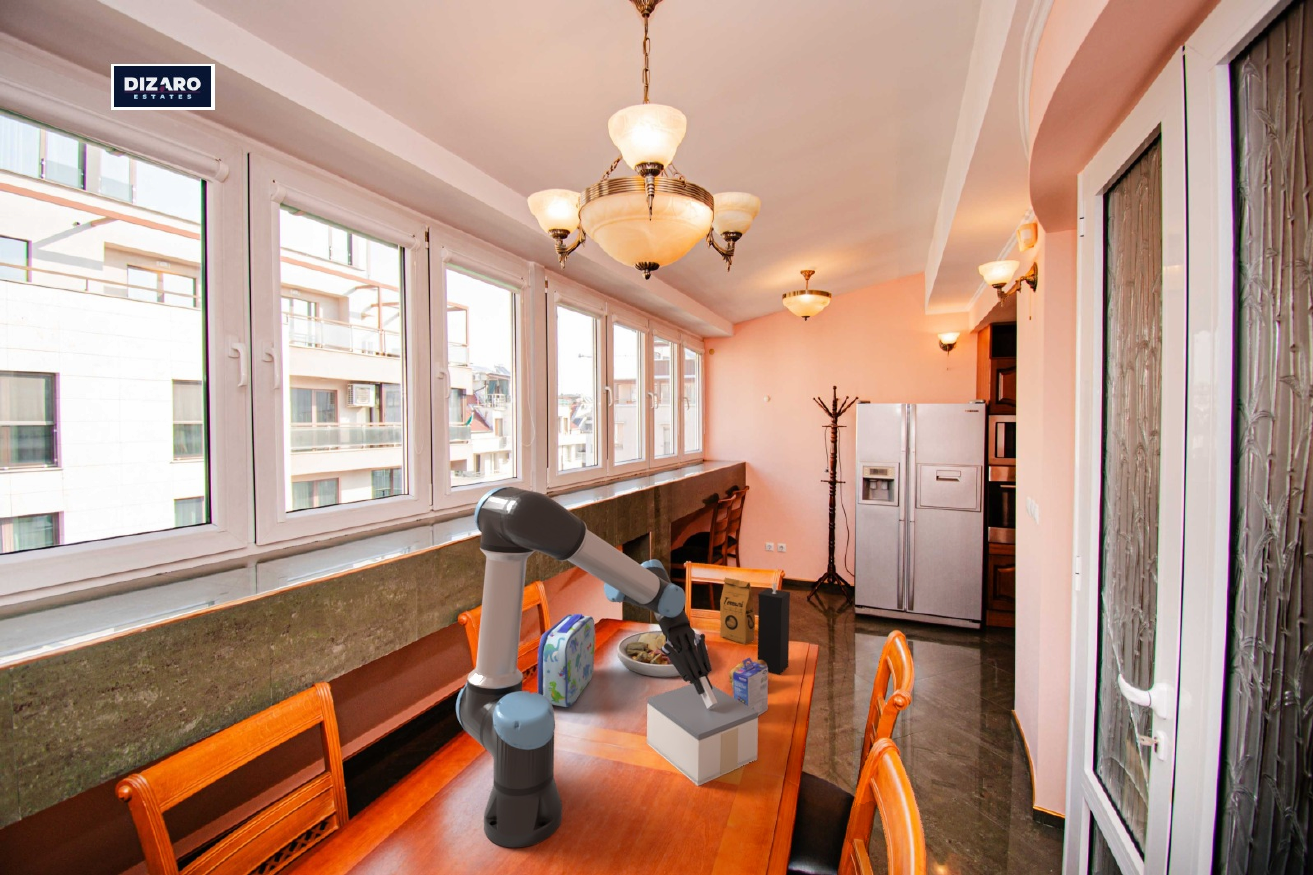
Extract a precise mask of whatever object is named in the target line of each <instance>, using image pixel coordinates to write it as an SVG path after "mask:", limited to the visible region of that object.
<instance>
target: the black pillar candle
mask: <svg viewBox="0 0 1313 875" xmlns="http://www.w3.org/2000/svg"><path fill="white" fill-rule="evenodd" d="M777 585H778V583H777V582H774V583H772V588H766V589H764V590H762V591H761V592H759V593H757V594H758V595H757V596H758V611H757V613H758V614H757V616H758V617H757V618H758V619H757V660H764V661H765V662H766V664H767V667H768V674H769V673H770V674H774V675H776V674H777V675H778V676H781V675H782V674H783V673H784V672H785V671H786V670H787V669H788V668H789V657H790V656H789V648H790V644H789V643H790V642H789V641H790V640H789V639H790V603H791V602H790V598H791V592H790V591H784V590H780V589H777V587H778V586H777Z"/></svg>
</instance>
